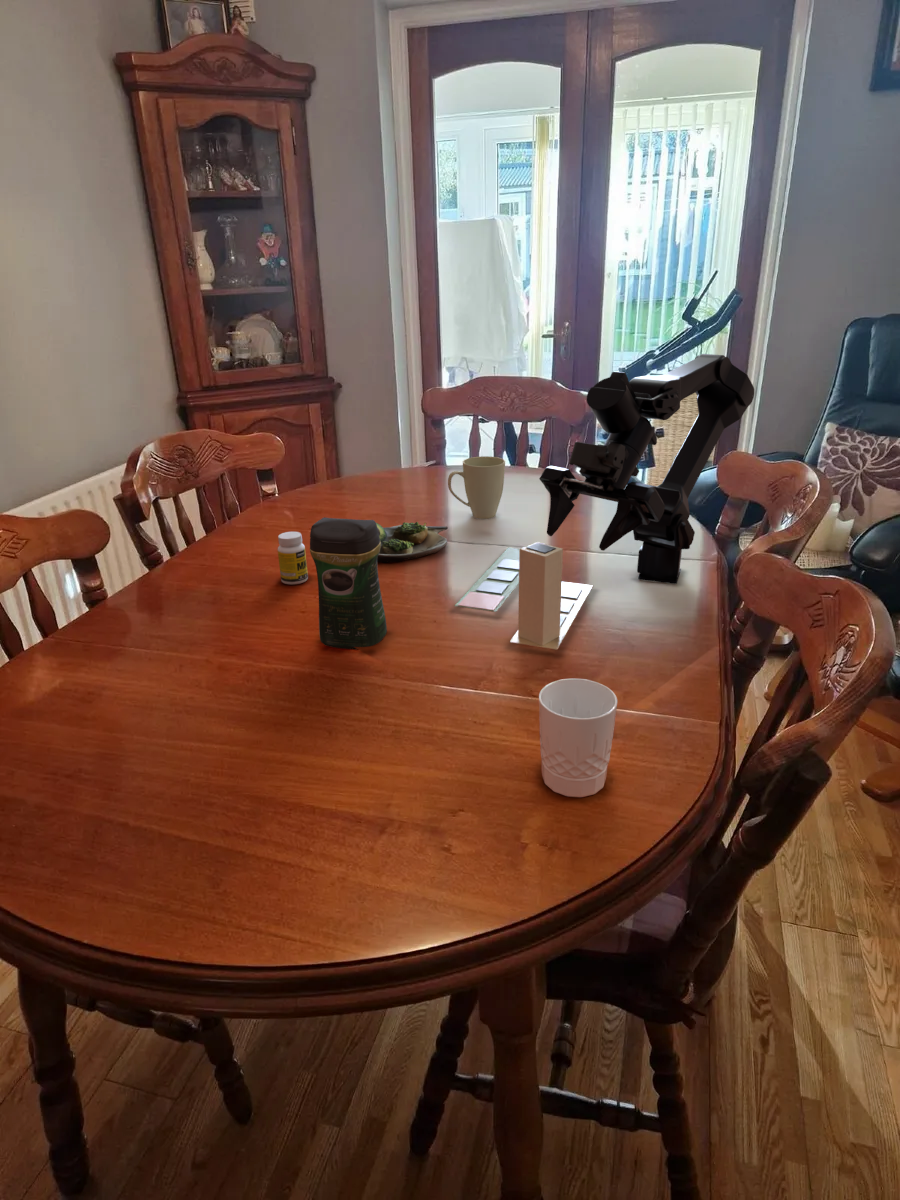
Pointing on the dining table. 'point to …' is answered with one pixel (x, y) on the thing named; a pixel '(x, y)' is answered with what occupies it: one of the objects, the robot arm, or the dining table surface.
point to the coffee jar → (348, 582)
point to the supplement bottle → (292, 558)
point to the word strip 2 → (563, 612)
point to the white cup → (576, 735)
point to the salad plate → (409, 541)
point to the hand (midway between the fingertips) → (574, 541)
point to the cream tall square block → (540, 592)
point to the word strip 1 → (494, 583)
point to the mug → (482, 484)
